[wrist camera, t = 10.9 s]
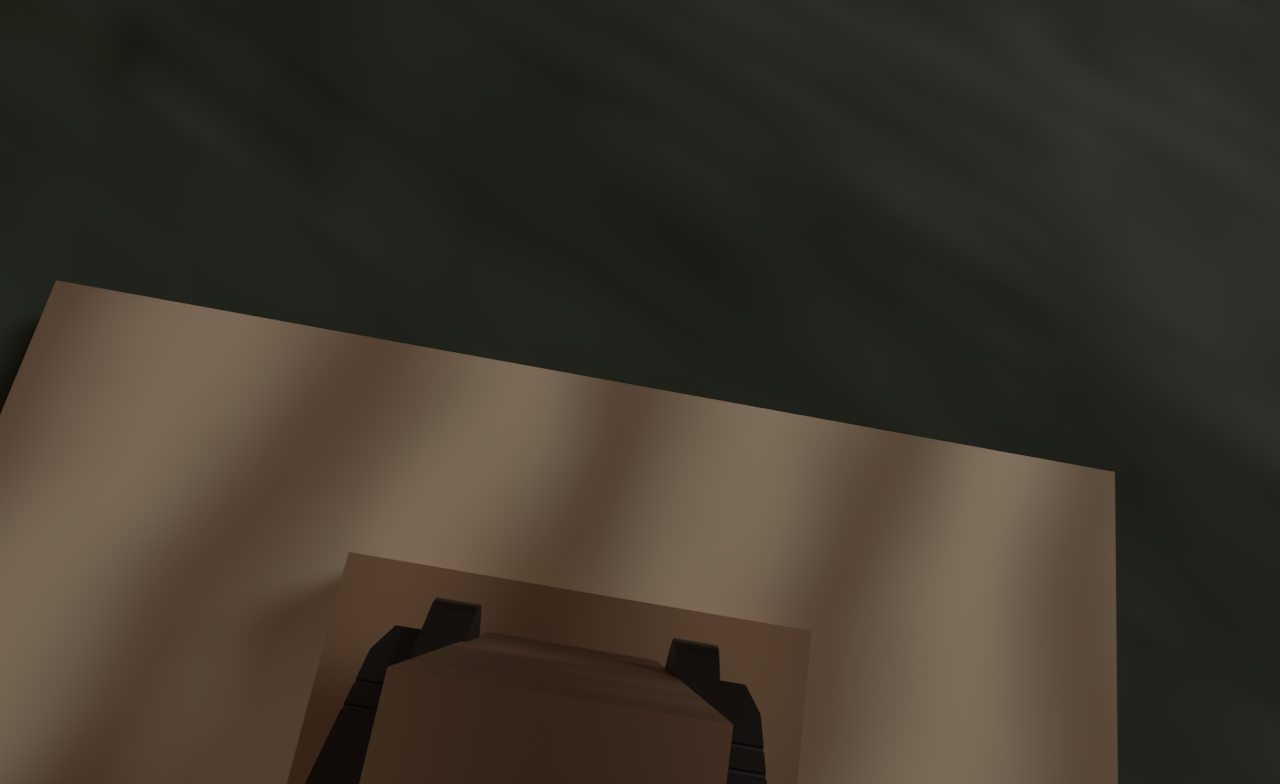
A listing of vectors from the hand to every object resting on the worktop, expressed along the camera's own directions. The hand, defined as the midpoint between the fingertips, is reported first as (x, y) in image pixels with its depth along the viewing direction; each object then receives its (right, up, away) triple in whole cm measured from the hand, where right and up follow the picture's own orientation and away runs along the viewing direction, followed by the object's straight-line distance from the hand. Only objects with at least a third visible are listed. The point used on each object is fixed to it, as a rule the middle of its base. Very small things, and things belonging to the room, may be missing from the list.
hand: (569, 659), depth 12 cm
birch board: (-1, -3, +5) cm, 6 cm away
